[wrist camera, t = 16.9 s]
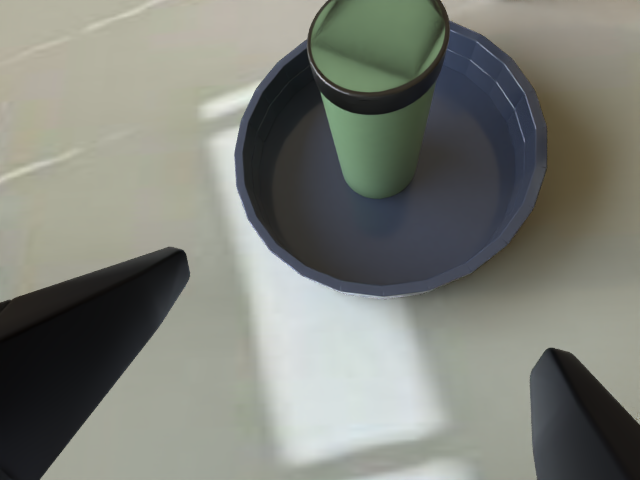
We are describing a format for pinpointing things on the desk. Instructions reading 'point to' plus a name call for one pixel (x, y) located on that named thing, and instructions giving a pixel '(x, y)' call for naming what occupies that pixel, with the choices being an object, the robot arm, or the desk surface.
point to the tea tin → (378, 84)
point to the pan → (413, 201)
